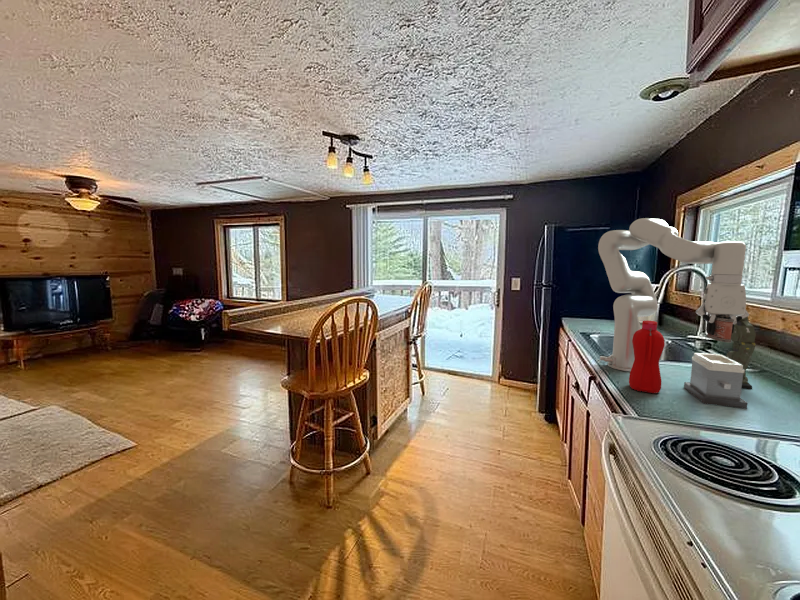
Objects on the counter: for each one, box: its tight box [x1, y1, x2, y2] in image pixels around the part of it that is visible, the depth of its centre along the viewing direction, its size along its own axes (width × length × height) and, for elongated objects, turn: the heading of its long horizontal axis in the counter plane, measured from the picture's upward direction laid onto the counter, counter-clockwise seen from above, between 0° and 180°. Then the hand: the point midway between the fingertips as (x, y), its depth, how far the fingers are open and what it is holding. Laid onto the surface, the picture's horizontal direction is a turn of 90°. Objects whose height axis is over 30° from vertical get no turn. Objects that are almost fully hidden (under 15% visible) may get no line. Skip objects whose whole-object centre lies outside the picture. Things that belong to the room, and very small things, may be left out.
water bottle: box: [628, 320, 665, 394], centre depth 127 cm, size 9×11×25 cm
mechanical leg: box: [725, 315, 757, 390], centre depth 134 cm, size 14×7×30 cm, turn 168°
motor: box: [683, 352, 749, 409], centre depth 121 cm, size 11×16×14 cm
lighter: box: [706, 314, 734, 343], centre depth 119 cm, size 8×3×10 cm, turn 178°
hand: (719, 334), depth 119 cm, fingers closed on lighter, 3 cm apart
